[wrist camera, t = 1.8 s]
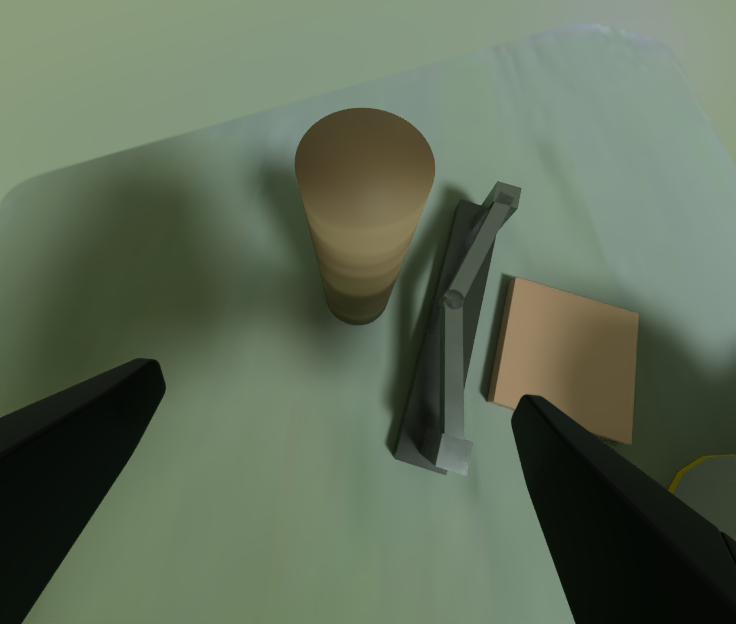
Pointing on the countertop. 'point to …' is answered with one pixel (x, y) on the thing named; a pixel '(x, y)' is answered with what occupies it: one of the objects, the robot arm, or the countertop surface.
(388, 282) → the tan wooden cylinder
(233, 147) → the countertop surface
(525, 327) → the terracotta tile
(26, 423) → the robot arm
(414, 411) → the gray metal frame
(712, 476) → the soap bottle
